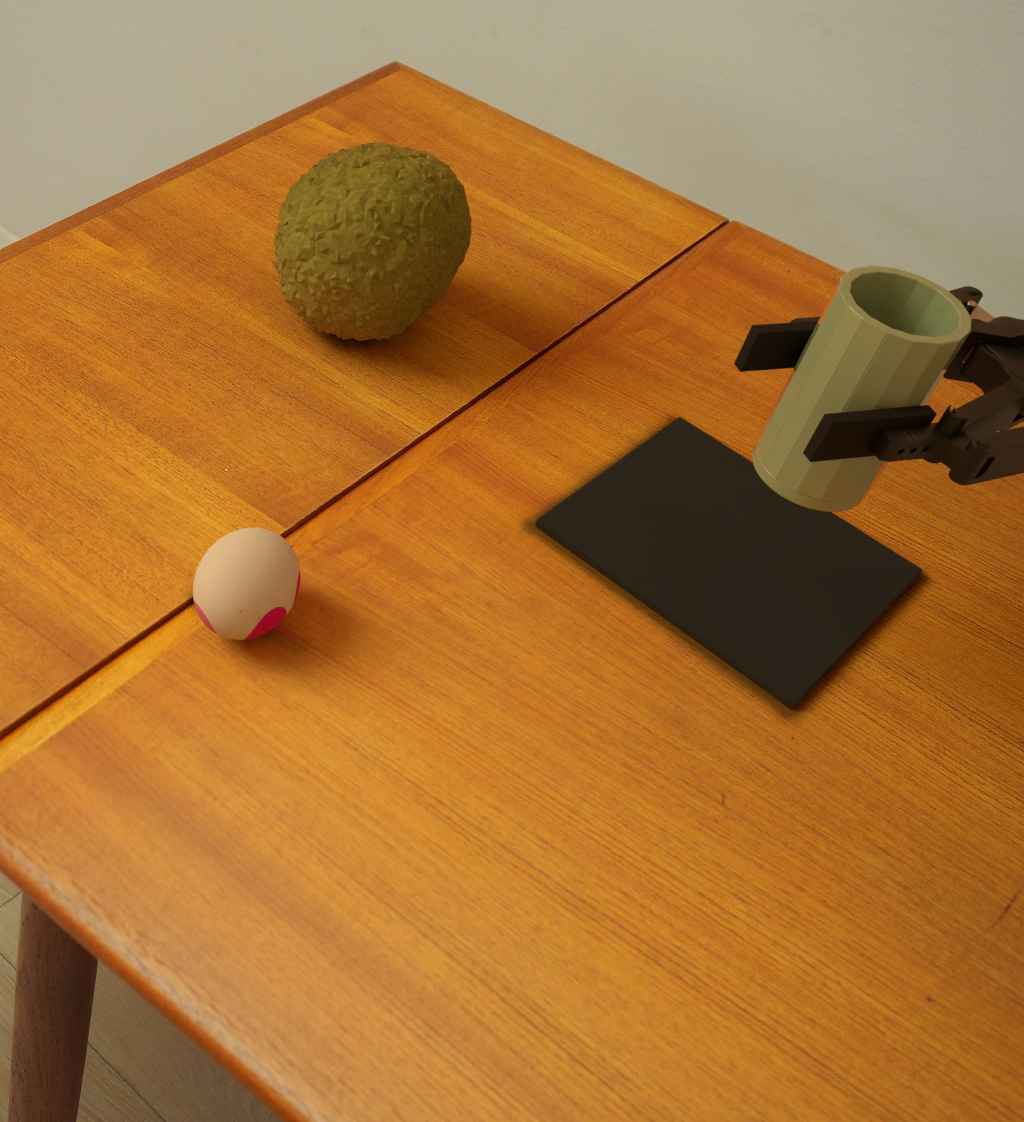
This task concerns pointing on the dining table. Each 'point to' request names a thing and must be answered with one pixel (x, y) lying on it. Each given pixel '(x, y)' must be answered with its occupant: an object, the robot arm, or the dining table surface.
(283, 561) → the stress ball
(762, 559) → the mat
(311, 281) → the fruit
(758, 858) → the dining table surface
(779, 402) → the cup
